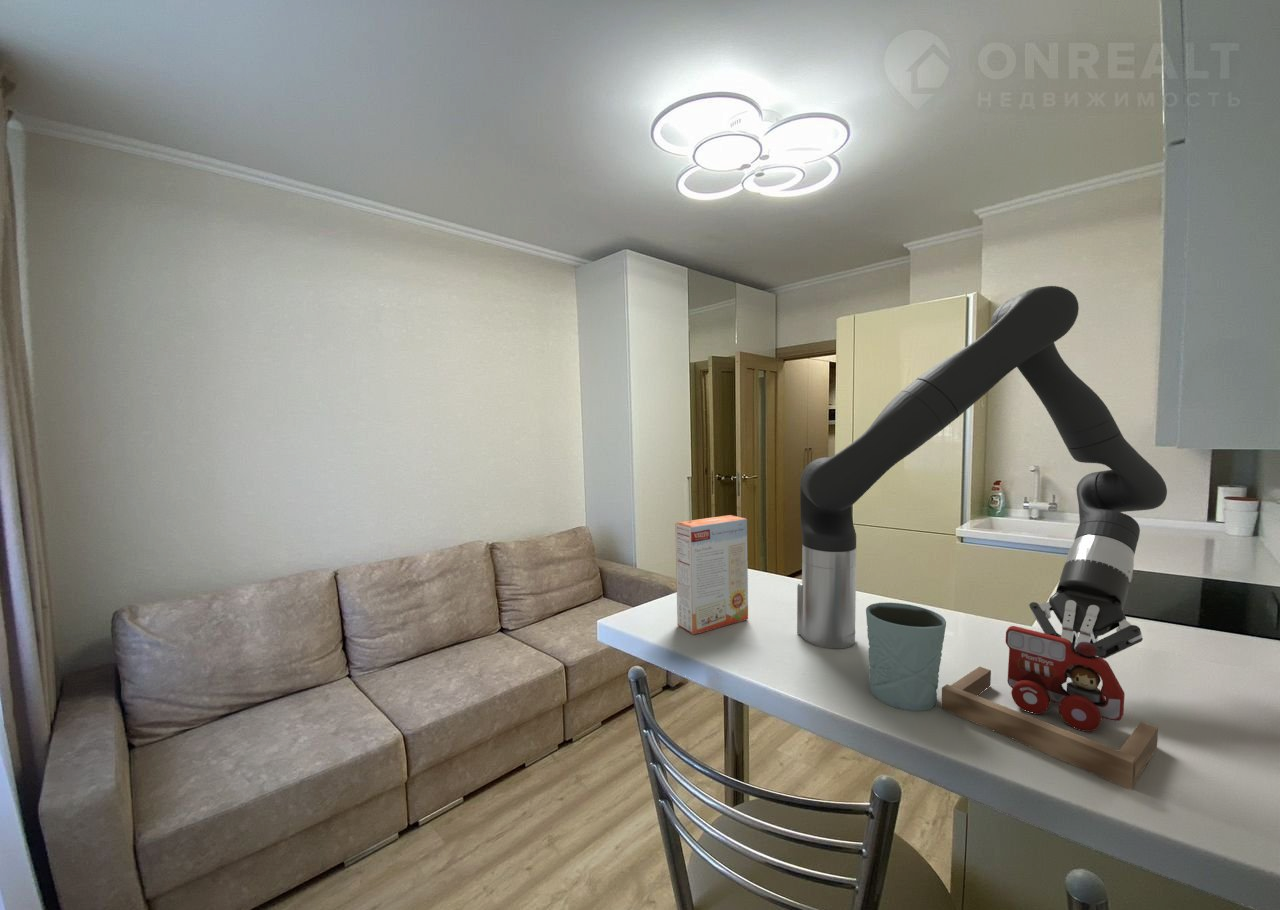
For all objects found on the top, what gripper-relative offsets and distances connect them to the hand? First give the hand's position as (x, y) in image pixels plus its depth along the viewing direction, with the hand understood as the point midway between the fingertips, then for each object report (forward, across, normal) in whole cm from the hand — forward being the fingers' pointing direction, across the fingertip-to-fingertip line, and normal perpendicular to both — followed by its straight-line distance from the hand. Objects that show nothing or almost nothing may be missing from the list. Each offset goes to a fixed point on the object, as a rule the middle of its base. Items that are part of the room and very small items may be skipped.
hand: (1067, 674), depth 70 cm
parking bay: (+10, 0, -4) cm, 10 cm away
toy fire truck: (+5, 0, +1) cm, 5 cm away
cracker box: (+17, -51, -11) cm, 54 cm away
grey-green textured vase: (+14, -15, -8) cm, 22 cm away
